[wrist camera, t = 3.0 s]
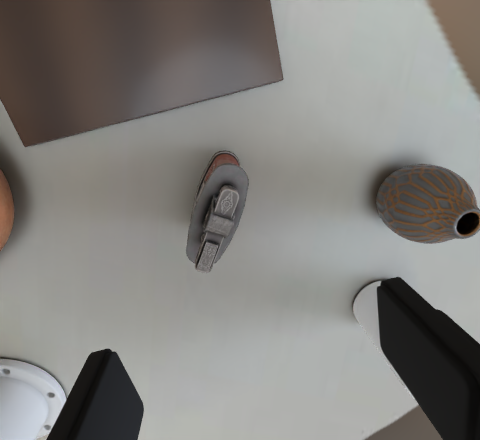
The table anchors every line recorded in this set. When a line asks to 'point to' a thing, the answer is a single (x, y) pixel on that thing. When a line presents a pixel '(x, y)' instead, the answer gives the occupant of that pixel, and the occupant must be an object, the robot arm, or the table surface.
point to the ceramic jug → (5, 210)
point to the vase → (428, 204)
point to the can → (371, 319)
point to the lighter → (216, 210)
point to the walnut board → (126, 59)
